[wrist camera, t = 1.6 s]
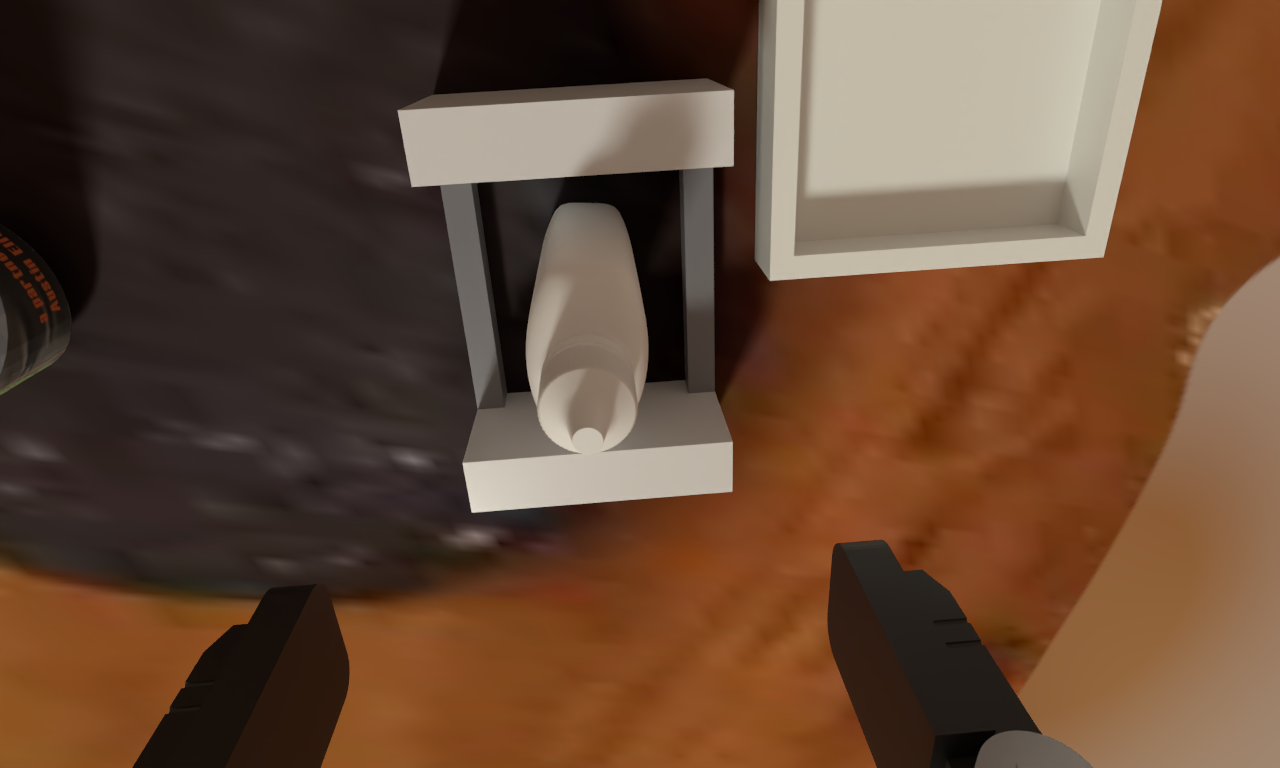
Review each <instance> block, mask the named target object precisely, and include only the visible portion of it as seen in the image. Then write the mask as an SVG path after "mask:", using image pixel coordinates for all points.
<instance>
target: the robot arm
mask: <svg viewBox="0 0 1280 768" xmlns="http://www.w3.org/2000/svg"><path fill="white" fill-rule="evenodd" d="M828 633H829V640H830V645H831V649H832V653H833V656H834V659H835V661H836V664H837V666H838V669H839V671H840V674H841V677H842V679H843V682H844V684H845V687H846V689H847V692H848V694H849V697H850V700H851V702H852V705H853V707H854V710H855V712H856V715H857V717H858V720H859V723H860V725H861V728H862V730H863V733H864V735H865V738H866V740H867V743H868V746H869V748H870V751H871V753H872V756H873V758H874V761H875V763H876V766H877V768H1093V767H1092V766H1091V765H1090V764H1089V763H1088V762H1087V761H1086V760H1085V759H1084V758H1083V757H1082V756H1081V755H1079V754H1078V753H1077V752H1075V751H1074V750H1073V749H1071V748H1070V747H1068V746H1066V745H1064V744H1063V743H1061V742H1059V741H1057V740H1055V739H1053V738H1050V737H1048V736H1044V735H1042V733H1041V732H1040V731H1039V729H1038V728H1037V726H1036V725H1035V723H1034V722H1033V720H1032V719H1031V717H1030V715H1029V714H1028V713H1027V711H1026V709H1025V708H1024V706H1023V705H1022V703H1021V701H1020V700H1019V698H1018V697H1017V695H1016V694H1015V692H1014V691H1013V689H1012V687H1011V686H1010V684H1009V683H1008V681H1007V680H1006V678H1005V677H1004V675H1003V673H1002V672H1001V670H1000V669H999V667H998V666H997V664H996V663H995V661H994V660H993V658H992V656H991V655H990V653H989V652H988V650H987V649H986V647H985V646H984V645H983V646H982V644H981V639H980V638H979V636H978V635H977V633H976V632H975V630H974V628H973V627H972V625H971V624H970V623H967V618H966V616H965V614H964V613H963V611H962V610H961V608H960V607H959V605H958V604H957V602H956V600H955V599H954V597H953V596H952V594H951V593H950V591H948V590H947V589H946V588H945V587H943V586H942V585H941V584H939V583H938V582H937V581H936V580H934V579H933V578H932V577H931V576H929V575H928V574H927V573H925V572H924V571H923V570H914V571H903V569H902V568H901V566H900V564H899V563H898V561H897V559H896V557H895V556H894V554H893V552H892V551H891V549H890V547H889V546H888V544H887V543H886V542H885V541H884V540H874V541H861V542H849V543H837V544H836V545H835V546H834V549H833V554H832V566H831V579H830V591H829V604H828ZM348 685H349V659H348V655H347V651H346V648H345V644H344V641H343V638H342V634H341V631H340V628H339V624H338V621H337V618H336V614H335V611H334V608H333V604H332V601H331V598H330V595H329V592H328V590H327V588H326V587H325V586H324V585H323V584H313V585H301V586H288V587H276V588H271V589H270V590H268V591H267V592H266V594H265V595H264V597H263V598H262V600H261V602H260V604H259V605H258V607H257V609H256V611H255V612H254V614H253V616H252V618H251V619H250V621H249V623H248V624H242V625H233V626H232V627H231V628H230V629H229V630H228V631H227V632H226V633H224V634H223V635H222V636H221V637H220V638H219V639H218V640H217V641H216V642H214V643H213V644H212V645H211V646H210V647H209V648H208V649H207V650H206V651H205V652H204V653H203V654H202V656H201V657H200V659H199V661H198V662H197V664H196V665H195V667H194V669H193V670H192V672H191V674H190V675H189V677H188V678H187V680H186V682H185V688H182V689H181V690H180V691H179V693H178V695H177V696H176V698H175V699H174V701H173V703H172V704H171V706H170V712H169V714H165V716H164V717H163V719H162V721H161V722H160V724H159V725H158V727H157V729H156V730H155V732H154V733H153V735H152V737H151V738H150V740H149V742H148V743H147V745H146V746H145V748H144V750H143V751H142V753H141V755H140V756H139V758H138V759H137V761H136V763H135V764H134V766H133V768H321V765H322V762H323V759H324V757H325V754H326V751H327V748H328V746H329V743H330V740H331V737H332V735H333V732H334V729H335V726H336V724H337V721H338V718H339V715H340V712H341V710H342V707H343V704H344V701H345V698H346V695H347V691H348Z"/></svg>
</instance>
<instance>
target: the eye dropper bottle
mask: <svg viewBox="0 0 1280 768" xmlns="http://www.w3.org/2000/svg"><path fill="white" fill-rule="evenodd" d="M526 364H527V373H528V379H529V384H530V388H531V392H532V395H533V398H534V401H535V404H536V406H537V413H538V415H537V416H538V418H539V420H538V421H539V422H540V426H542V430H544V431H545V434H546V435H548V438H550V439H552V440H551V441H553V442H555V444H557V445H559V447H563V448H564V449H568V451H573V452H577V453H582V454H587V455H589V454H594V453H596V452H597V453H599V452H601V451H605V450H609V449H610V448H613V447H614V446H616V445H618V443H620V442H622V440H624V439H625V437H626V436H628V433H630V432H631V429H632V428H633V427H634V424H635V423H636V422H635V420H636V419H637V414H638V411H637V410H638V404H639V401H640V399H641V395H642V392H643V389H644V384H645V380H646V374H647V367H648V332H647V324H646V317H645V312H644V306H643V301H642V295H641V290H640V285H639V281H638V276H637V271H636V266H635V261H634V256H633V251H632V247H631V242H630V238H629V235H628V232H627V229H626V226H625V223H624V221H623V219H622V216H621V214H620V212H619V211H618V210H617V209H616V208H615V207H614V206H612V205H609V204H603V203H567V204H563V205H561V206H560V207H559V208H558V209H557V210H556V211H555V212H554V214H553V216H552V218H551V221H550V223H549V226H548V228H547V232H546V235H545V238H544V242H543V246H542V251H541V256H540V261H539V266H538V271H537V276H536V281H535V287H534V292H533V297H532V302H531V307H530V313H529V318H528V326H527V335H526Z"/></svg>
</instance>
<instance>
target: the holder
mask: <svg viewBox="0 0 1280 768" xmlns="http://www.w3.org/2000/svg"><path fill="white" fill-rule="evenodd" d="M398 115H399V120H400V126H401V131H402V136H403V142H404V147H405V153H406V158H407V164H408V169H409V174H410V180H411V185H412V187H418V186H434V185H440V187H441V193H442V198H443V204H444V210H445V216H446V222H447V228H448V234H449V240H450V246H451V252H452V258H453V264H454V270H455V276H456V282H457V288H458V294H459V300H460V306H461V312H462V318H463V324H464V330H465V336H466V342H467V348H468V354H469V360H470V366H471V372H472V378H473V384H474V390H475V396H476V402H477V408H478V411H477V414H476V418H475V421H474V425H473V428H472V432H471V435H470V439H469V442H468V446H467V449H466V453H465V456H464V460H463V468H464V473H465V478H466V484H467V489H468V495H469V500H470V506H471V511H472V513H473V512H485V511H498V510H510V509H522V508H535V507H547V506H560V505H572V504H584V503H597V502H609V501H622V500H634V499H646V498H659V497H671V496H683V495H696V494H708V493H721V492H732V464H733V442H732V439H731V436H730V433H729V430H728V427H727V425H726V422H725V419H724V416H723V413H722V410H721V407H720V405H719V402H718V399H717V396H716V393H715V345H714V221H713V167H727V166H734V90H733V89H730V88H728V87H726V86H723V85H721V84H719V83H716V82H714V81H712V80H709V79H707V78H704V79H688V80H671V81H655V82H638V83H621V84H605V85H588V86H572V87H555V88H539V89H522V90H505V91H489V92H472V93H456V94H439V95H431V96H429V97H427V98H425V99H423V100H420V101H418V102H416V103H414V104H411V105H409V106H407V107H405V108H402V109H400V110H398ZM665 170H679V180H680V216H681V252H682V289H683V325H684V361H685V380H677V381H664V382H651V383H645V384H644V389H643V392H642V395H641V399H640V401H639V404H638V410H637V411H638V414H637V419H636V420H635V422H636V423H635V424H634V427H633V428H632V429H631V432H630V433H628V436H626V437H625V439H624V440H622V442H620V443H618V445H616V446H614V447H613V448H610V449H609V450H605V451H601V452H599V453H597V452H596V453H594V454H589V455H587V454H582V453H577V452H573V451H568V449H564V448H563V447H559V445H557V444H555V442H553V441H551V440H552V439H550V438H548V435H546V434H545V431H544V430H542V426H540V422H539V421H538V420H539V418H538V416H537V415H538V413H537V406H536V404H535V401H534V398H533V395H532V392H518V393H507V387H506V380H505V373H504V366H503V359H502V352H501V345H500V339H499V332H498V325H497V318H496V311H495V304H494V297H493V291H492V284H491V277H490V270H489V263H488V256H487V249H486V243H485V236H484V229H483V222H482V215H481V208H480V201H479V195H478V188H477V183H480V182H496V181H511V180H526V179H542V178H557V177H573V176H588V175H604V174H619V173H634V172H650V171H665Z"/></svg>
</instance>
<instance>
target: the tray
mask: <svg viewBox="0 0 1280 768" xmlns="http://www.w3.org/2000/svg"><path fill="white" fill-rule="evenodd" d="M1161 4H1162V0H759V30H758V89H757V149H756V208H755V261H756V262H757V264H758V265H759V267H760V268H761V269H762V271H763V272H764V273H765V275H766V276H767V278H768V279H769V280H770V281H773V280H787V279H802V278H816V277H830V276H844V275H858V274H872V273H887V272H901V271H915V270H929V269H943V268H957V267H972V266H986V265H1000V264H1014V263H1028V262H1043V261H1057V260H1071V259H1085V258H1099V257H1104V253H1105V248H1106V244H1107V240H1108V235H1109V231H1110V227H1111V222H1112V218H1113V214H1114V209H1115V205H1116V200H1117V196H1118V192H1119V187H1120V183H1121V179H1122V174H1123V170H1124V166H1125V161H1126V157H1127V153H1128V148H1129V144H1130V139H1131V135H1132V131H1133V126H1134V122H1135V118H1136V113H1137V109H1138V105H1139V100H1140V96H1141V91H1142V87H1143V83H1144V78H1145V74H1146V70H1147V65H1148V61H1149V57H1150V52H1151V48H1152V44H1153V39H1154V35H1155V30H1156V26H1157V22H1158V17H1159V13H1160V9H1161Z"/></svg>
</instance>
